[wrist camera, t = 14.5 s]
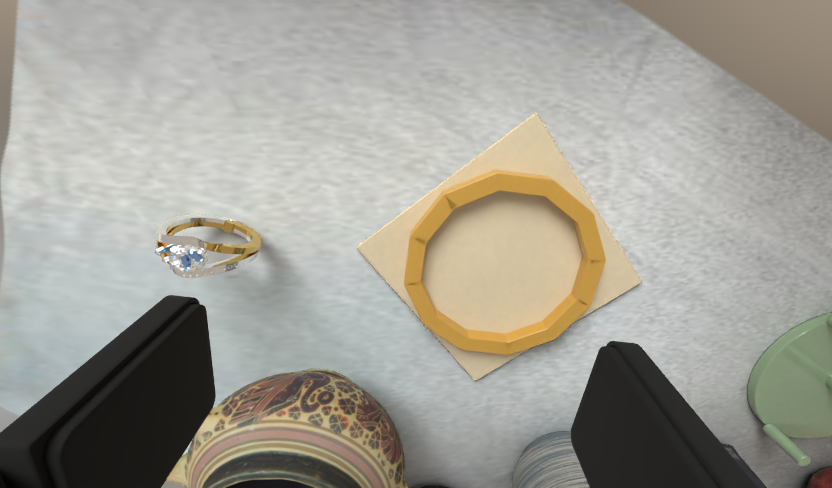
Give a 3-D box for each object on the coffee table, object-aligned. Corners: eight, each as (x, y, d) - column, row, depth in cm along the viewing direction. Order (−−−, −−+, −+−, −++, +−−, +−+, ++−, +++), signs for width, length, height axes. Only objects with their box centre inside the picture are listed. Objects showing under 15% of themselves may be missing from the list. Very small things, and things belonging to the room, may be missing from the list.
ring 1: (188, 225, 33) (122, 264, 26) (195, 191, 32) (128, 221, 25) (269, 253, 34) (227, 298, 27) (278, 220, 33) (237, 258, 26)
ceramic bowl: (197, 377, 42) (81, 539, 30) (243, 275, 33) (101, 451, 21) (390, 463, 47) (358, 634, 35) (478, 397, 38) (478, 598, 25)
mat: (535, 112, 30) (537, 112, 29) (639, 279, 35) (642, 282, 34) (357, 245, 34) (356, 248, 33) (474, 378, 39) (475, 381, 38)
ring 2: (532, 123, 30) (537, 125, 28) (633, 281, 34) (641, 288, 33) (363, 249, 33) (361, 255, 32) (475, 375, 38) (477, 385, 37)
